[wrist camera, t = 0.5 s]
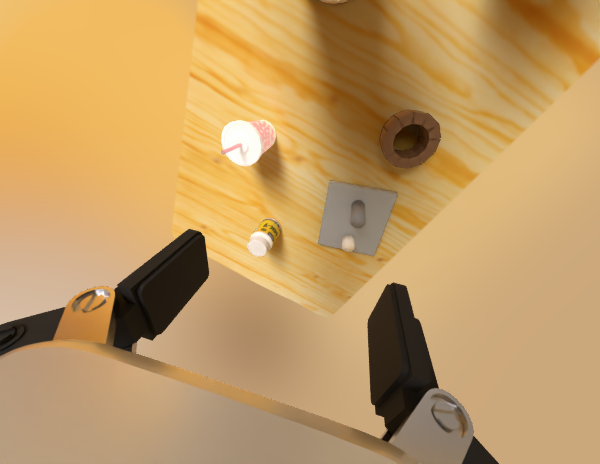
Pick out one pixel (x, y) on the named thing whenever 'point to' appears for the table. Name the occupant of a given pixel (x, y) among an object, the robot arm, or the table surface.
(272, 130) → the beverage cup
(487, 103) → the table surface
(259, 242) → the supplement bottle
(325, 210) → the post board
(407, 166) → the ring
